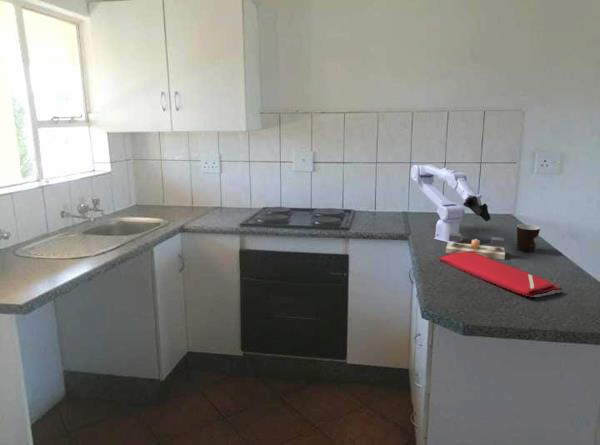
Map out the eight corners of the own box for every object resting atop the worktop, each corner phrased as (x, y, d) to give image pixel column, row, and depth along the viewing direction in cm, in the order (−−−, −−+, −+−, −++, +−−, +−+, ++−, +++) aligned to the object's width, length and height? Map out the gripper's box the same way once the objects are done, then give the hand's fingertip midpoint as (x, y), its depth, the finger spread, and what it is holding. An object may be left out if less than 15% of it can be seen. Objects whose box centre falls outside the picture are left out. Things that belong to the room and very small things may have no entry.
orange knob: (470, 248, 189) (471, 240, 188) (471, 246, 192) (471, 238, 191) (479, 249, 188) (480, 241, 187) (479, 247, 190) (480, 239, 190)
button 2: (491, 245, 185) (491, 239, 184) (491, 242, 189) (491, 236, 188) (503, 246, 183) (503, 240, 183) (502, 243, 187) (503, 237, 187)
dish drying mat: (470, 257, 186) (471, 248, 185) (562, 294, 149) (564, 283, 148) (438, 262, 180) (439, 252, 179) (525, 302, 143) (527, 290, 142)
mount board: (445, 252, 189) (446, 246, 189) (447, 246, 199) (448, 240, 198) (504, 259, 182) (505, 253, 181) (503, 252, 191) (504, 246, 190)
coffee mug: (524, 254, 188) (527, 230, 186) (509, 248, 197) (512, 225, 194) (548, 252, 192) (551, 228, 189) (532, 246, 200) (535, 223, 197)
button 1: (449, 241, 191) (449, 235, 190) (449, 238, 195) (450, 232, 194) (460, 242, 189) (460, 236, 189) (460, 239, 193) (461, 233, 193)
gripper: (466, 181, 188) (484, 204, 179) (482, 193, 197) (500, 216, 189) (452, 192, 191) (469, 216, 182) (469, 204, 200) (485, 227, 192)
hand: (484, 217), depth 186 cm, fingers open, 7 cm apart
